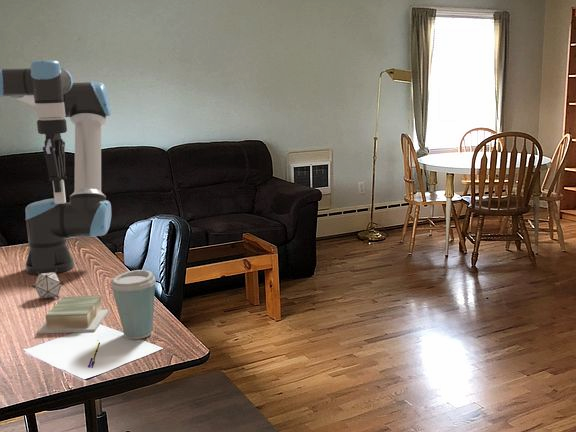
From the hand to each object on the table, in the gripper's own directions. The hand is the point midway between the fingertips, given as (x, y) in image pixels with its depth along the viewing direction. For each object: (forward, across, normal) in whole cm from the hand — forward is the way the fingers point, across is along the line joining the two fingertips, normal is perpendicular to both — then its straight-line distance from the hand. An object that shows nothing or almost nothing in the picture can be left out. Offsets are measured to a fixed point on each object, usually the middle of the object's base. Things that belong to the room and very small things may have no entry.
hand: (60, 202), depth 176 cm
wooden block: (+25, +15, +7) cm, 29 cm away
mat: (+27, +23, +7) cm, 36 cm away
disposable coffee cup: (+26, +34, +24) cm, 49 cm away
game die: (+28, +2, -5) cm, 28 cm away
